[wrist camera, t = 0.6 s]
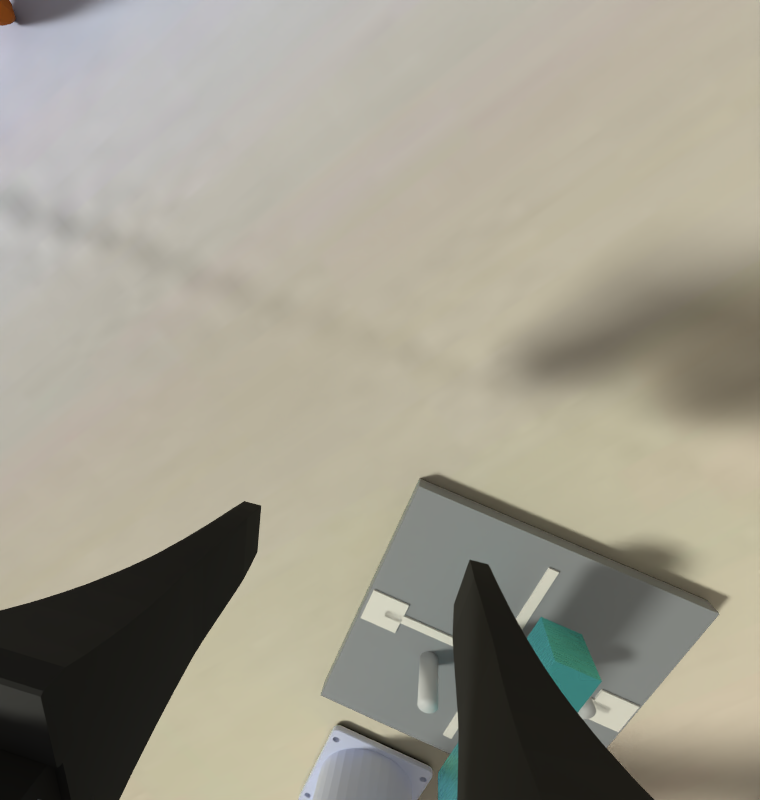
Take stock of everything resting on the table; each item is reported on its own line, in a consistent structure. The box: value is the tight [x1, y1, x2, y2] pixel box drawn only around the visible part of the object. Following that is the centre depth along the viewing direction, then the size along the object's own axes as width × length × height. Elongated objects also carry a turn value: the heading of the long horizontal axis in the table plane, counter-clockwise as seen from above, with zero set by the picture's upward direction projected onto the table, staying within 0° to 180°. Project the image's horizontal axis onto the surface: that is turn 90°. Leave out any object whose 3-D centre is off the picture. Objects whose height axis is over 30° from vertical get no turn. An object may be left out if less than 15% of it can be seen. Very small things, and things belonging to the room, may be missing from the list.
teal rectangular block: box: [438, 617, 602, 800], centre depth 21 cm, size 13×5×4 cm, turn 159°
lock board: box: [321, 479, 719, 754], centre depth 23 cm, size 18×18×4 cm
